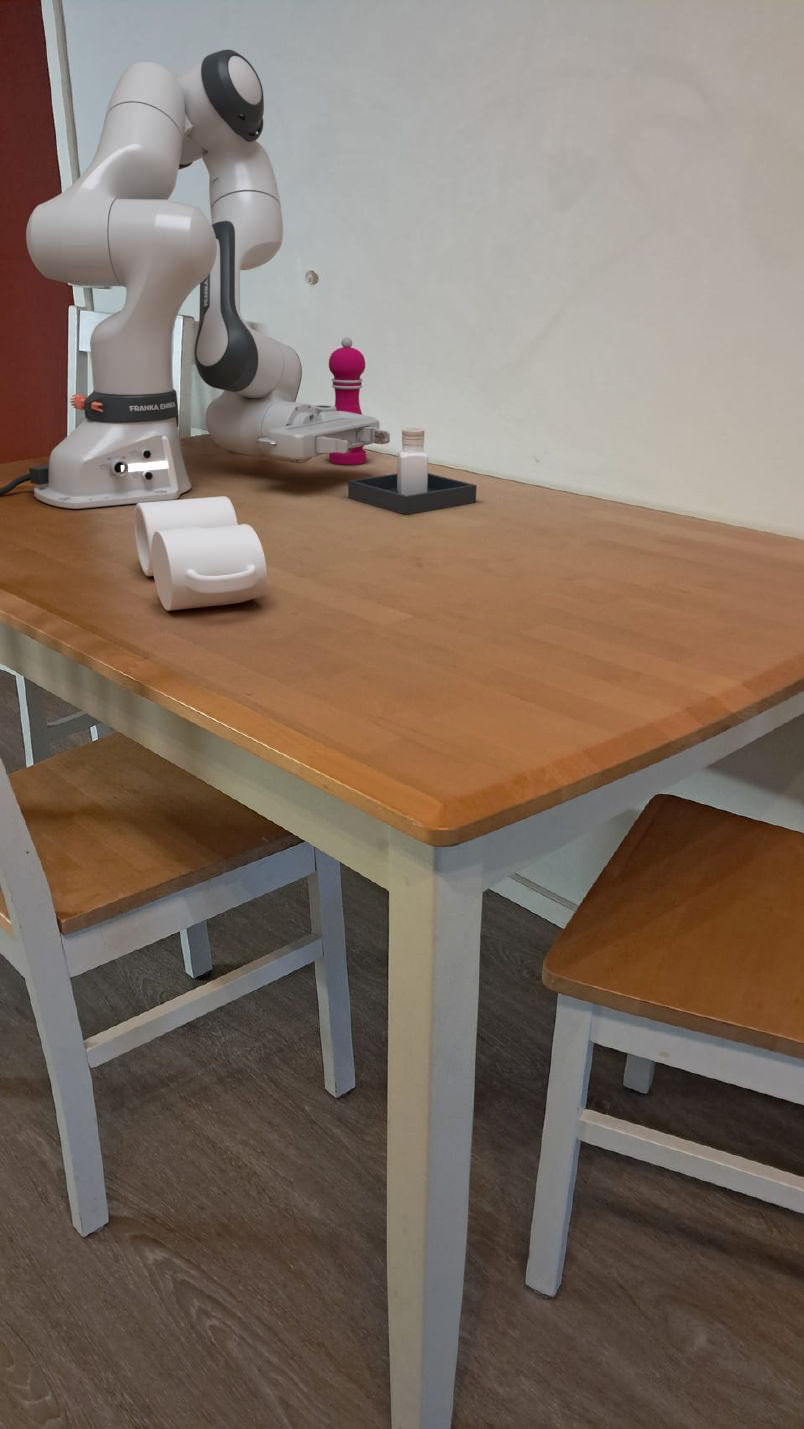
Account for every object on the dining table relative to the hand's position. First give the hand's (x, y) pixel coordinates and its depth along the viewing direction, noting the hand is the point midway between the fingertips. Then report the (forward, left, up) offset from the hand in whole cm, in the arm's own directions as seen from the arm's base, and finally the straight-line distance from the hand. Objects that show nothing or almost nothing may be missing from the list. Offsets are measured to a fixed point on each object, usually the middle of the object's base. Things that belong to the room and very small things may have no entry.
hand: (368, 442), depth 155 cm
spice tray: (+2, -7, -8) cm, 11 cm away
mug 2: (-46, -33, -8) cm, 57 cm away
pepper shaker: (+3, -7, -7) cm, 10 cm away
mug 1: (-41, -18, -8) cm, 45 cm away
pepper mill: (+12, +22, -8) cm, 26 cm away
